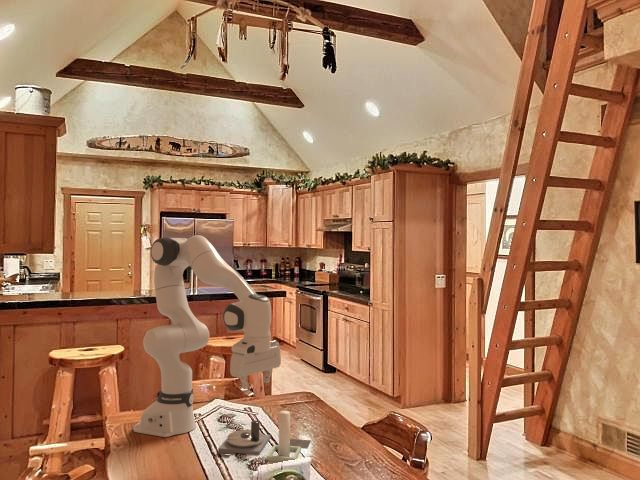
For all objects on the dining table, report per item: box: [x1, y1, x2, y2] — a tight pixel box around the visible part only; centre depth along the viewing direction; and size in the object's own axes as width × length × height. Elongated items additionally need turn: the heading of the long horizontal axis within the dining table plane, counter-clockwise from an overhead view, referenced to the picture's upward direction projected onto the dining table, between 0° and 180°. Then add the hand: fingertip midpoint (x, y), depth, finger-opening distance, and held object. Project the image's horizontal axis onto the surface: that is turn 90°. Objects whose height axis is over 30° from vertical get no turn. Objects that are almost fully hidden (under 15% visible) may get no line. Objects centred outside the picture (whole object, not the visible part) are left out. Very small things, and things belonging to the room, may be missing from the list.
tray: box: [266, 444, 302, 462], centre depth 160 cm, size 9×9×2 cm
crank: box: [226, 420, 264, 448], centre depth 168 cm, size 12×12×8 cm
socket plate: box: [290, 438, 312, 449], centre depth 170 cm, size 7×7×1 cm
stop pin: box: [278, 410, 291, 457], centre depth 160 cm, size 4×4×14 cm
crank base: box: [217, 434, 271, 456], centre depth 168 cm, size 14×14×2 cm
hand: (256, 385), depth 164 cm, fingers open, 8 cm apart
